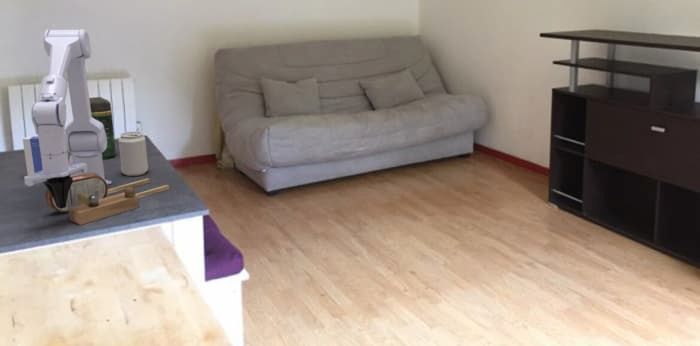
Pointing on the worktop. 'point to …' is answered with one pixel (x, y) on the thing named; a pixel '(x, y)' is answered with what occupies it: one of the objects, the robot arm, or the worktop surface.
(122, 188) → the oak guide strips
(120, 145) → the can
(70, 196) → the tin
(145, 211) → the worktop surface
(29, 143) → the walkman
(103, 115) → the coffee jar
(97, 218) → the wooden block with knobs
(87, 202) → the brass lever
